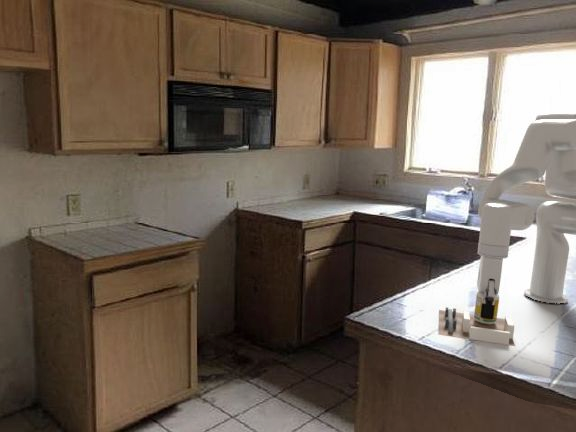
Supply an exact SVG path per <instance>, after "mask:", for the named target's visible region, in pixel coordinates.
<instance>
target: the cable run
mask: <svg viewBox="0 0 576 432" xmlns="http://www.w3.org/2000/svg"><path fill="white" fill-rule="evenodd" d="M444 311H445V317H446V321H445V328H448V332H449V333H450V334H453V329H456V323H457V318H455V316H456V312H457V308H452V309H451V308H449V307H447V306H446V307H445V310H444ZM452 312H453V313H452ZM453 318H454V321H453Z"/></svg>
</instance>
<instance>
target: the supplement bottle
mask: <svg viewBox="0 0 576 432" xmlns="http://www.w3.org/2000/svg"><path fill="white" fill-rule="evenodd" d="M488 285H489V283H488ZM486 292H487V293H488V290H486ZM483 296H484V292H481V293H480V292H479V291H478V292H476V297H475V306H474V314H473V315H474V319H475V320H476V321H477V322H479V323H483V324H494V323H496V320H497V318H498V311H499V304H500V295H499V293H498V294H497V295H495V304H494V305H495V309H494V317H493V319H484V318H481V317H480V315H481V306H482V303H483ZM487 296H488V295H486V297H487Z"/></svg>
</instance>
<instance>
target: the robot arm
mask: <svg viewBox="0 0 576 432" xmlns="http://www.w3.org/2000/svg"><path fill="white" fill-rule="evenodd" d="M544 175H545V178H544V191H545V193H546V194H547V195H548V196H550V197H554V198H557V199H559V198H560V199H566V200H575V201H576V110H549V111H544V112H540V113H539V114H538V115H536V118H535V121H533V122H531V123H530V124H529V125H528V126H527V129H526V131H525V133H524V136H523V138H522V141H521V143H520V145H519V148H518V150H517V153H516V155H515V157H514V161H513V163H512V165H510V166H509V167H508V168H506V169H504V170H503V171H501V172H500V173H499V174H498V175H496V176H495V177H494V178H493V179H492V180H491V181H490V182H489V183H488V185H487V186H486V188H485V189H484V193H483V194H482V197H481V200H480V202H479V205H478V211H477V216H478V219H479V221H480V228H479V237H478V239H479V240H478V245H477V246H478V247H477V255H479V256H480V260H479V266H478V272H477V273H478V275H477V281H476V287H477V291H478V292H480V293H481V292H484V296H483V303H482V306H481V315H480V317H481V318H484V319H493V317H494V309H495V305H494V304H495V295H497V294H498V295H499V292H500V286H501V285H500V284H501V280H502V279H501V278H502V272H503V261H504V259H508V257H509V249H510V242H511V240H510V239H511V235H512V234H511V231H512V230H513V231H524V230H526V229H528V228H530V227H531V226H532V225H533V223H534V221H536V240H535V247H534V248H535V249H534V254H533V255H534V257H533V264H532V271H531V279H530V280H531V281H530V287H529V288H527V289H524V293H523V295H524V294H525V295H526V296H528V297H530V298H532V299H535V300H538V301H537V302H539V301H541V302H540V303H543V302H546V303H545V304H549V303H555V304H554V305H561V304H560V303H564V304H567V303H568V300H569V299H568V296H567V295H565V294H564V288H565V282H566V274H567V268H568V261H569V260H568V259H569V254H570V244H569V242H568V240H567V238H566V236H565V234H568V235H573V236H576V203H572V202H566V201H565V202H564V201H557V200H549V201H544V202H542V203H541V204H539V206H538V208H537V210H536V212H535V211H534V208H533V207H532V206H531V205H530V204H528V203H525V202H521V201H513V200H507V199H506V200H505V199H500V198H501V197H502V195H503V194H504V193H505V192H506V191H508V190H509V189H511V188H512V189H513V187H516V186H519V185H522V184H526V183H529V182H533V181H537V180H539V179H541V178H542V177H543V176H544ZM535 217H536V219H535ZM488 283H489V285H488ZM486 290H488V293H487V292H486ZM486 295H488V296H487V297H486ZM525 295H524V296H525ZM526 296H525V297H526ZM528 297H527V298H528ZM530 298H529V299H530ZM532 299H531V300H532ZM535 300H534V301H535ZM556 303H557V304H556Z"/></svg>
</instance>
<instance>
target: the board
mask: <svg viewBox="0 0 576 432" xmlns="http://www.w3.org/2000/svg"><path fill="white" fill-rule="evenodd" d="M452 313H453V311H452ZM469 314H470V326H469V332H463V330H462V318H463V312H458V311H456V316H455V318H457V323H456V329H453V334H450V333H449V332H448V328H445V321H446V317H445V310H444V309H442V310H441V309H438V332H437V333H438V335H441V336H446V337H453V338H459V339H467V340H473V339H470V338H469V337H470V328H471V326H473V327H480V328H487V329H493V330H500V331H504V323H505V318H503V317H502V318H501V317H497V320H496V323H494V324H483V323H479V322H477V321H476V320H475V319H474V314H472V313H469ZM453 321H454V318H453ZM473 341H474V340H473ZM477 341H479V340H477ZM485 342H486V341H484V343H485ZM486 343H487V342H486ZM490 343H492V344H494V343H493V342H490ZM497 344H499V343H497ZM499 345H500V344H499ZM503 345H506V344H503ZM506 346H507V345H506ZM508 346H512V347H516V344H515V341H514V338H513V339H510V338H509V345H508Z"/></svg>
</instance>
